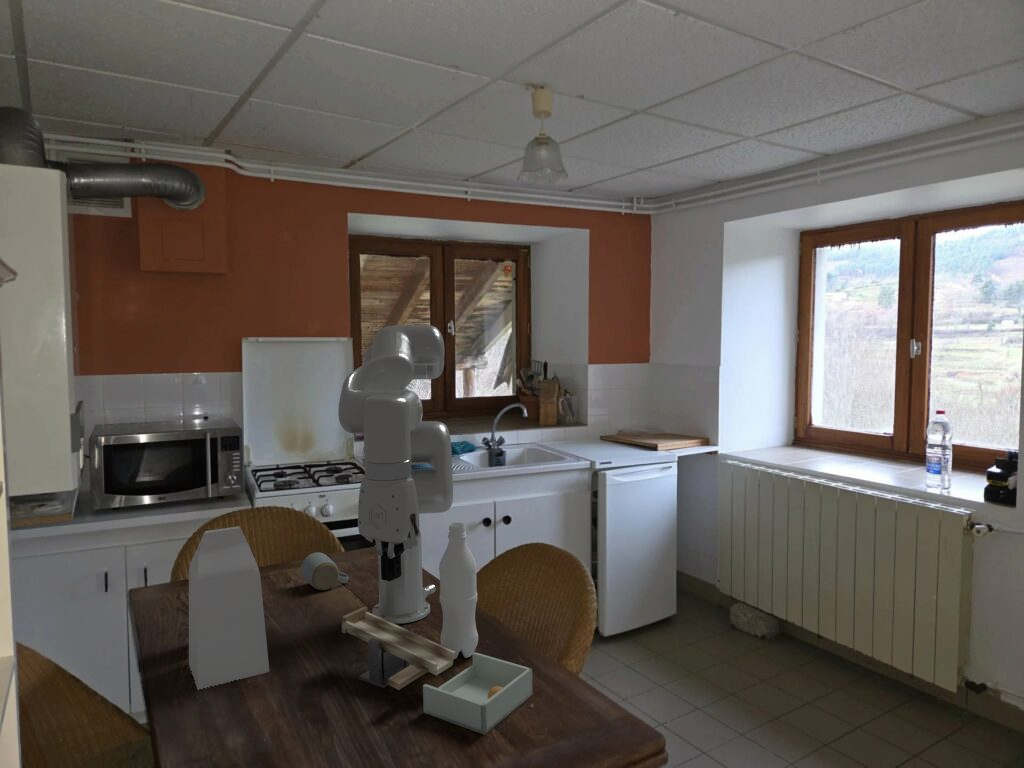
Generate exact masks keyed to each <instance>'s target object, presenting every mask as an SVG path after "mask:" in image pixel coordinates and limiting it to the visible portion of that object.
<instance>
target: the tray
mask: <svg viewBox="0 0 1024 768" xmlns="http://www.w3.org/2000/svg"><path fill="white" fill-rule="evenodd" d="M496 686H499V687H502V689H501V690H500V691H498V692H497V693H496V694H494V695H493V696H492V697H490V698H489V699H488V693H489V691H490V690H491V689H492V688H493V687H496ZM533 695H534V692H533V668H532V667H528V666H523V665H522V664H516V663H514V662H510V661H507V660H503V659H499V658H496V657H492V656H490V655H486V654H482V653H479V652H475V651H474V653H473V654H472V664H471V665H470V666H468V667H467V668H465V669H464V670H462V671H461V672H459V673H458V674H456V675H455V676H453V677H452V678H451V679H449V680H447V681H446V682H444V683H443V684H442V685H440V686H439V687H435V686H434V685H429V684H427V683H425V684H423V685H422V700H423V702H422V703H423V714H427V715H429V716H432V717H434V718H438V719H440V720H443V721H446V722H448V723H451V724H454V725H456V726H459V727H462V728H464V729H467V730H470V731H473V732H475V733H478V734H480V735H481V734H482V735H484V736H485V735H486V734H487V733H489V732H490V731H491V730H492V729H494V728H495V727H496V726H497V725H498V724H499V723H501V722H502V721H504V719H505V718H507V717H508V716H509V715H510V714H512V713H513V712H514V711H515V710H516V709H518V708H519V707H520V706H521V705H522V704H523V703H524V702H525V701H527V700H528V699H529V698H530V697H532V696H533Z"/></svg>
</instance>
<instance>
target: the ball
mask: <svg viewBox="0 0 1024 768" xmlns="http://www.w3.org/2000/svg"><path fill="white" fill-rule="evenodd" d="M501 689H502V687H499V686H496V687H493V688H492V689H491V690H490V691H489V693H488V699H489V698H490V697H492V696H493V695H494V694H496V693H497V692H498V691H500V690H501Z"/></svg>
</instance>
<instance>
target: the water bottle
mask: <svg viewBox="0 0 1024 768" xmlns="http://www.w3.org/2000/svg"><path fill="white" fill-rule="evenodd" d="M448 531H449V532H448V535H447V538H448V544H447V546H446V549H445V551H444V553H443V555H442V557H441V560H440V562H439V564H438V565H439V567H438V571H439V586H440V587H439V604H440V605H441V609H442V627H441V628H442V629H441V633H440V645H442V646H444V647H446V648H449V649H451V650H453V651H455V652H456V656H455V659H454V660H456V659H457V658H458V657H459V654H460V652H461V654H462V656H463V658H465V659H467V658H468V659H469V658H470V657H471V656H473V653H474V652H475V651H476V649H477V646H478V643H479V634H478V630H477V625H476V607H477V602H478V591H477V570H478V569H477V567H478V566H477V562H476V559H475V557H474V555H473V553H472V552H471V550H470V548H469V546H468V544H467V539H466V538H467V537H468V536H467V534H466V533H467V532H466V524H465V523H463V522H452V523H449V524H448Z"/></svg>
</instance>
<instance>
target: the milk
mask: <svg viewBox="0 0 1024 768" xmlns="http://www.w3.org/2000/svg"><path fill="white" fill-rule="evenodd" d="M243 532H244V531H242V529H241V527H240V526H239V525H238V526H233V527H225V528H219V529H211V530H206V531H204V533H203V535H202V537H201V539H200V542H199V544H198V547H197V549H196V550H195V553H194V555H193V557H192V559H191V561H190V564H189V568H188V569H189V570H188V667H189V669H190V672H191V671H192V672H191V675H192V676H193V677H194V678H193V680H195V681H194V683H195V686H196V689H197V691H200V690H199V689H201V690H204V689H203V688H205V689H208V688H211V687H210V686H212V687H215V685H216V686H220V685H224V684H228V683H231V681H232V682H235V681H234V680H236V681H240V680H242V679H247V678H250V677H255V676H259V675H263V674H266V673H269V672H270V664H269V654H268V642H267V633H266V622H265V613H264V611H265V610H264V603H263V592H262V581H261V573H260V569H259V566H258V564H257V560H256V559H255V557H254V555H253V551H252V550H251V547H250V545H249V543H248V542H247V541H248V540H247V539H246V536H245V534H244V533H243ZM239 679H240V680H239ZM227 682H228V683H227ZM219 684H220V685H219ZM207 687H208V688H207Z"/></svg>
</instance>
